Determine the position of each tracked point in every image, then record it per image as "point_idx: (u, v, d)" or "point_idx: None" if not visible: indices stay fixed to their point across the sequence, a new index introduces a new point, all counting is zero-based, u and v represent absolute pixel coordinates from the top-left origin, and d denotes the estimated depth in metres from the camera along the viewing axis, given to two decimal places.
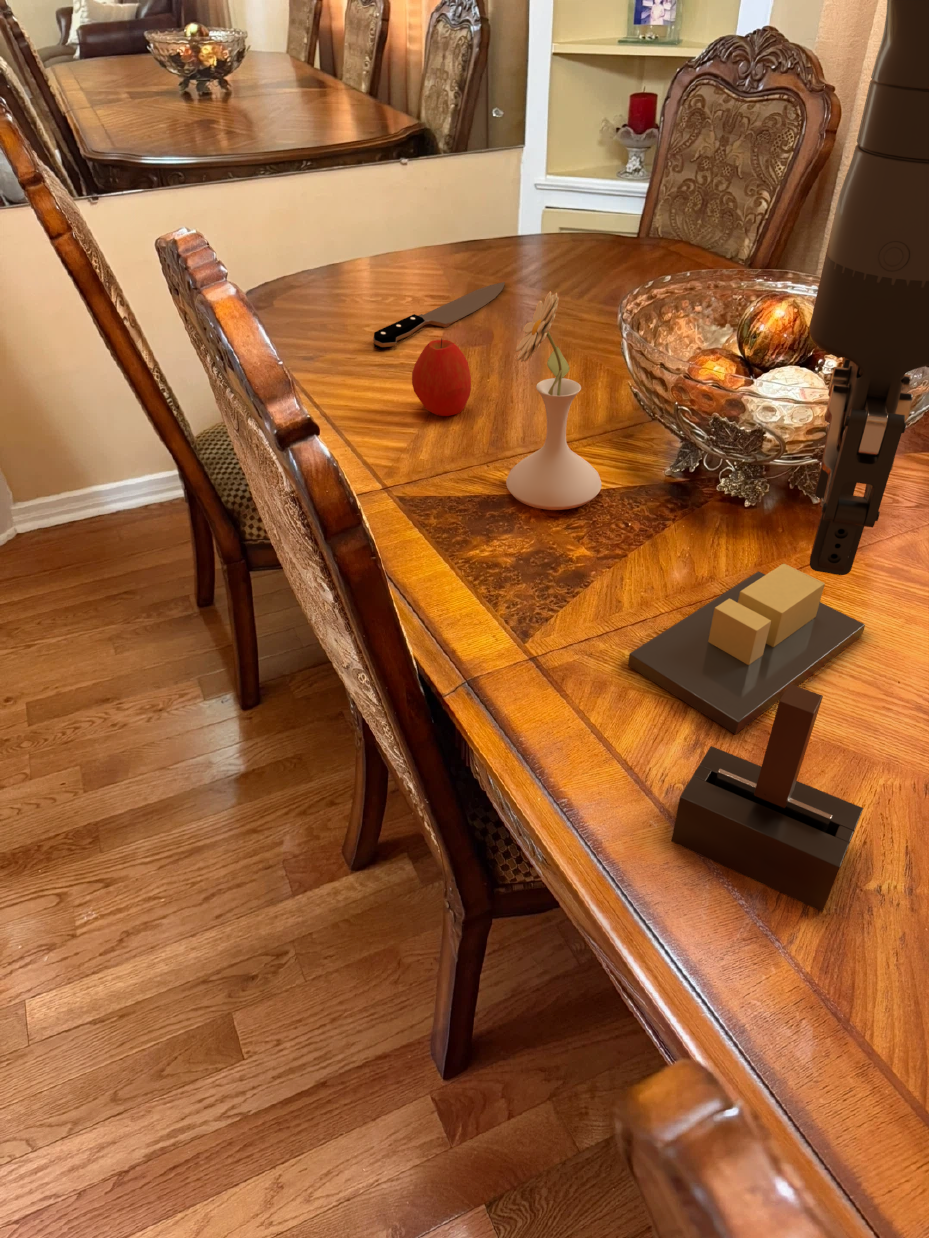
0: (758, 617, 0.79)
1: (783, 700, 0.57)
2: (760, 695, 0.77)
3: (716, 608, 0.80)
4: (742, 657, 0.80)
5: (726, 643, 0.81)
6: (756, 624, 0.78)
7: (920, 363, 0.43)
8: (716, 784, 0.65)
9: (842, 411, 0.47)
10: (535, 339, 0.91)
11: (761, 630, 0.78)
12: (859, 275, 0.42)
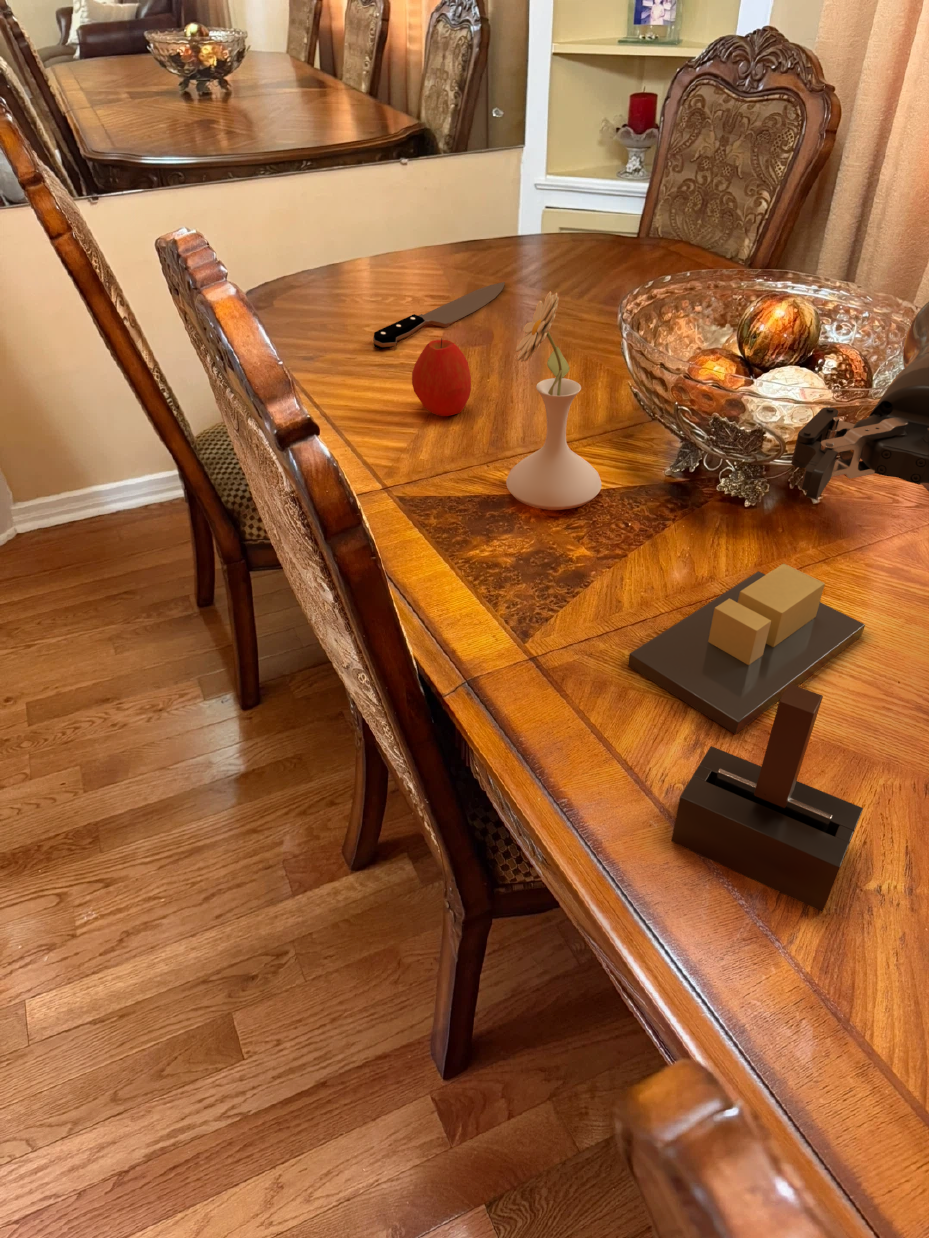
0: (758, 617, 0.79)
1: (783, 700, 0.57)
2: (760, 695, 0.77)
3: (716, 608, 0.80)
4: (742, 657, 0.80)
5: (726, 643, 0.81)
6: (756, 624, 0.78)
7: (877, 404, 0.67)
8: (716, 784, 0.65)
9: None
10: (535, 339, 0.91)
11: (761, 630, 0.78)
12: None
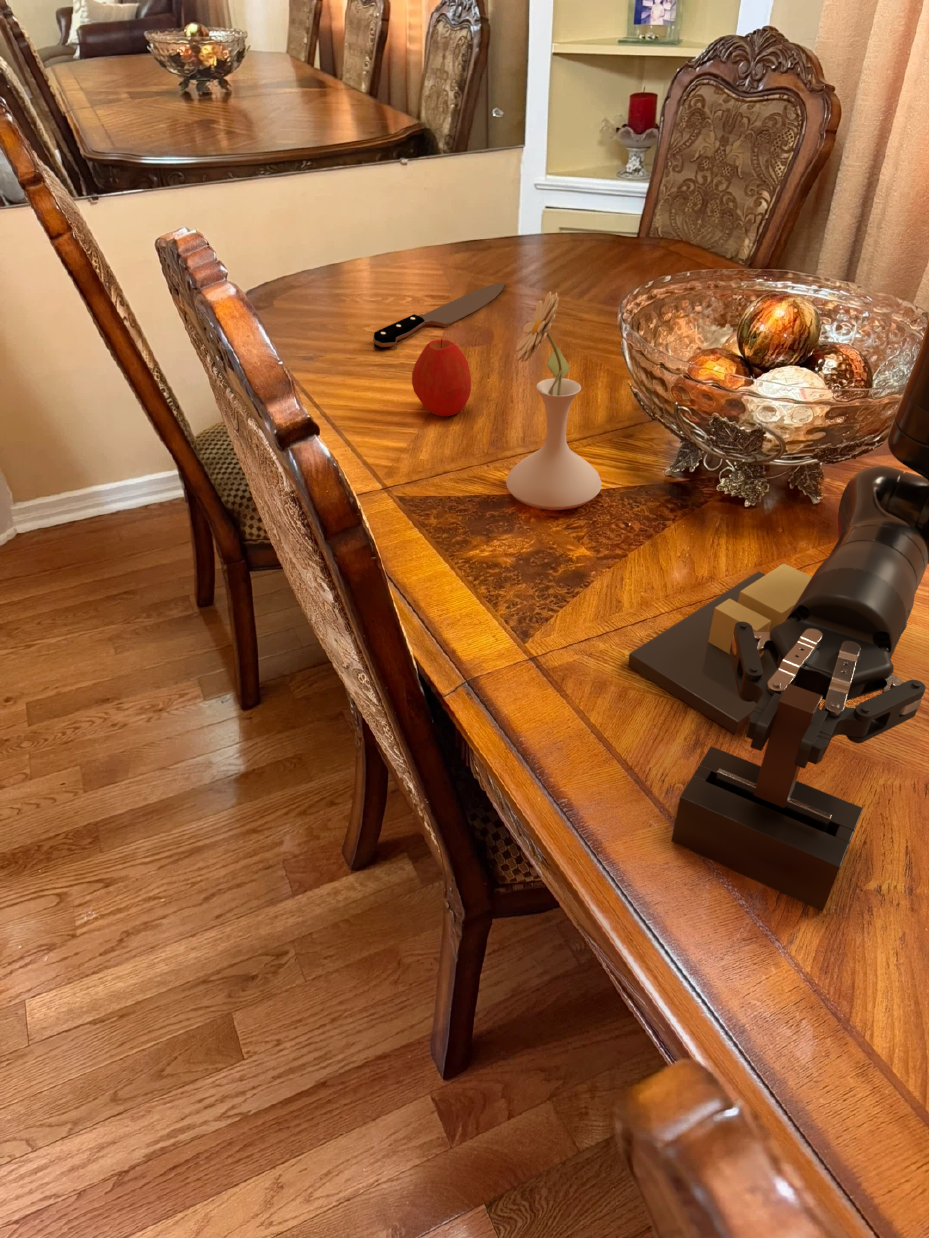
0: (758, 617, 0.79)
1: (782, 700, 0.57)
2: None
3: (716, 608, 0.80)
4: None
5: (726, 643, 0.81)
6: (756, 624, 0.78)
7: (795, 606, 0.65)
8: (716, 784, 0.65)
9: None
10: (535, 339, 0.91)
11: (761, 630, 0.78)
12: None
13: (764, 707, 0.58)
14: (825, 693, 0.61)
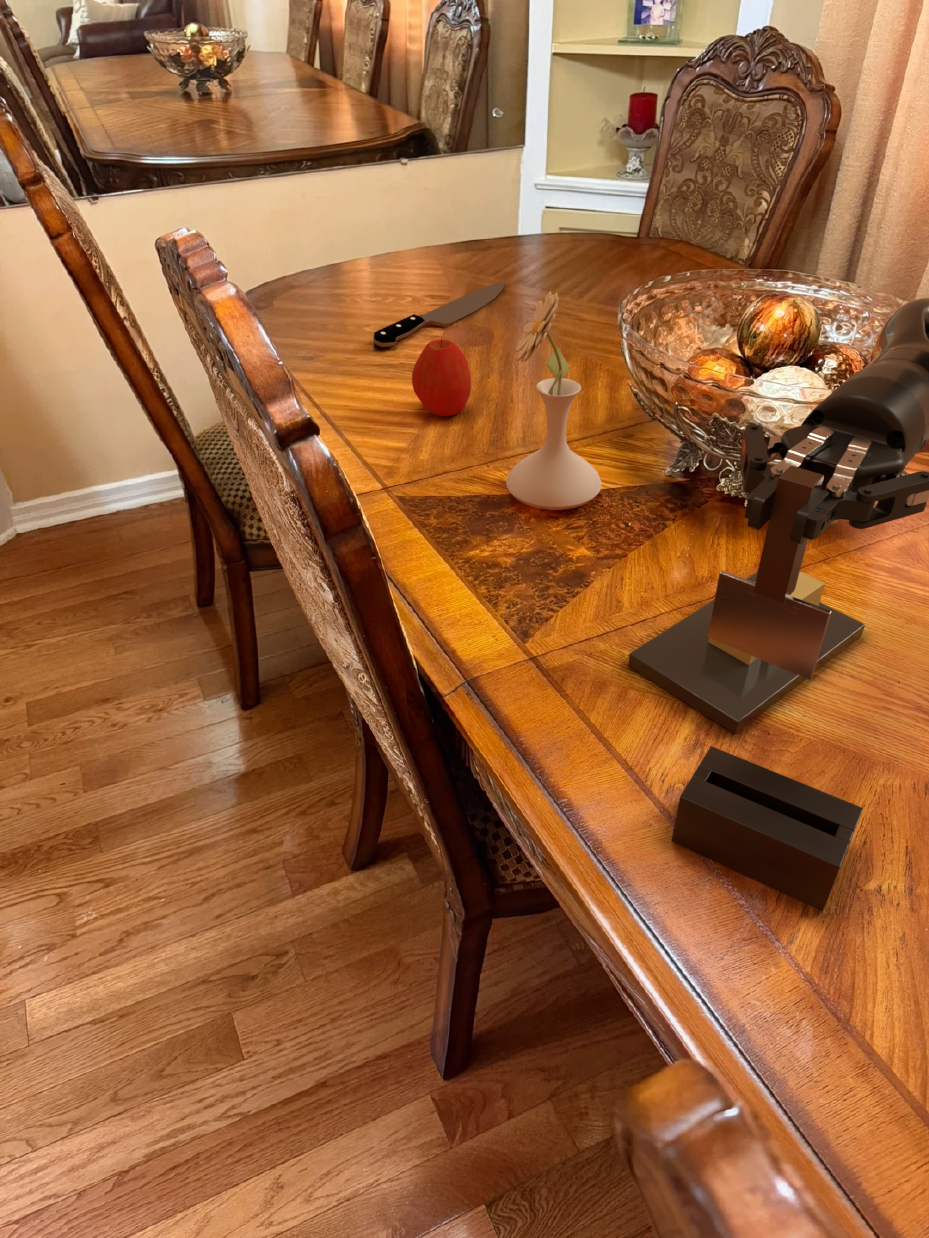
0: None
1: (782, 477, 0.56)
2: (760, 695, 0.77)
3: None
4: (742, 657, 0.80)
5: None
6: None
7: (810, 413, 0.64)
8: (718, 587, 0.64)
9: None
10: (535, 339, 0.91)
11: None
12: None
13: None
14: None
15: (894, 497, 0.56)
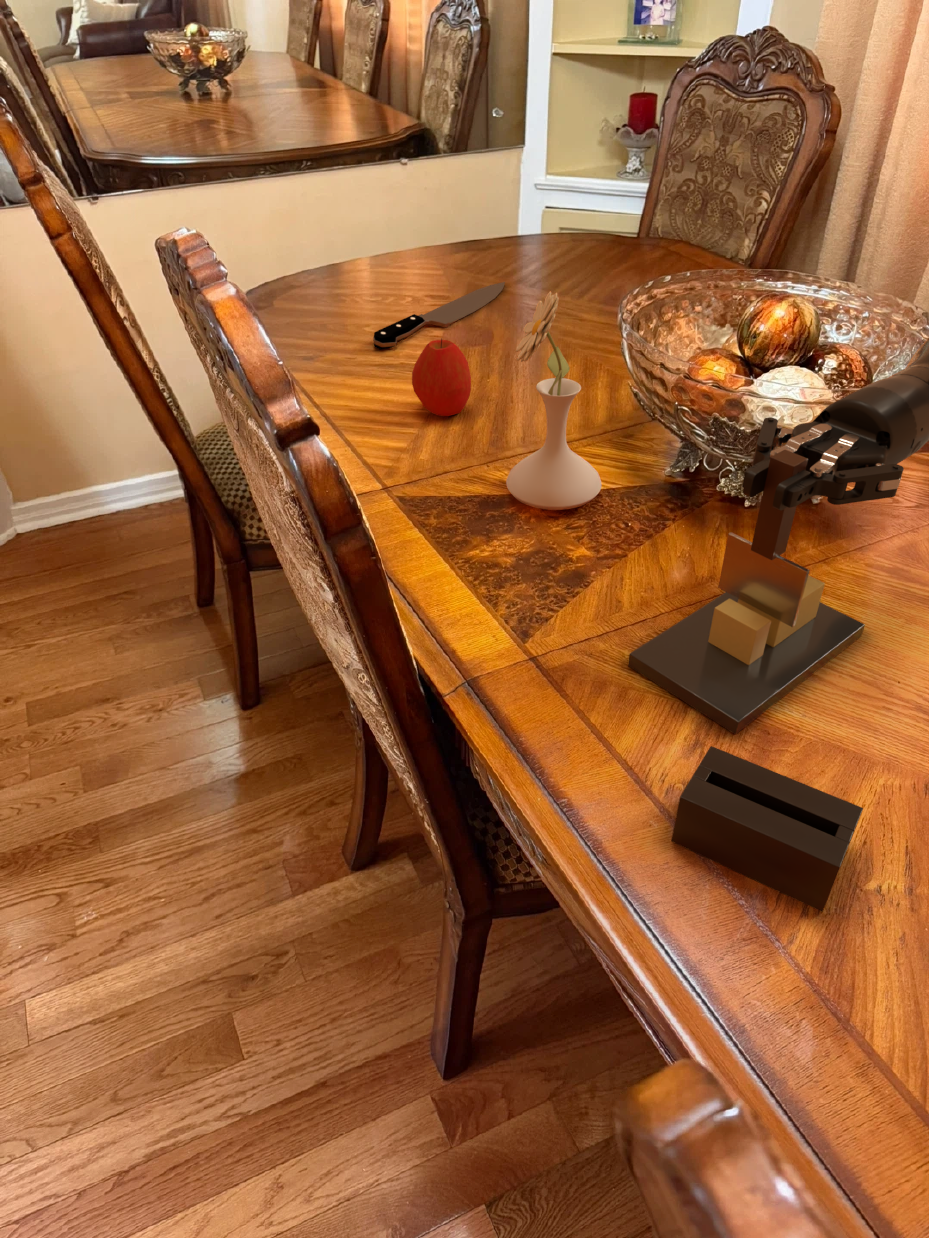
0: (758, 617, 0.79)
1: (773, 457, 0.72)
2: (760, 695, 0.77)
3: (716, 608, 0.80)
4: (742, 657, 0.80)
5: (726, 643, 0.81)
6: (756, 624, 0.78)
7: (821, 412, 0.79)
8: (726, 546, 0.80)
9: None
10: (535, 339, 0.91)
11: (761, 630, 0.78)
12: None
13: None
14: None
15: (865, 481, 0.71)
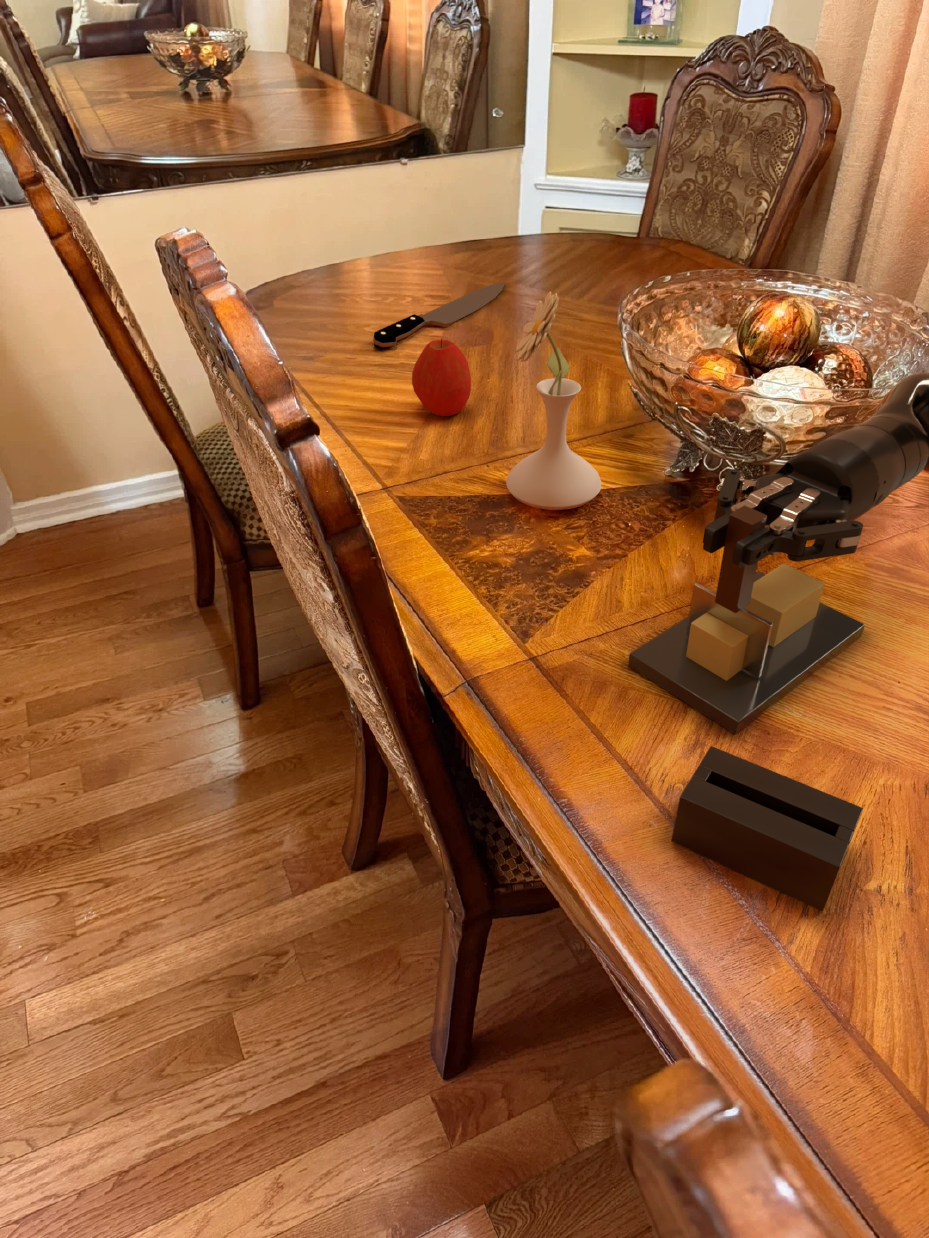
0: (735, 633, 0.77)
1: (732, 514, 0.71)
2: (760, 695, 0.77)
3: (692, 623, 0.78)
4: (720, 673, 0.78)
5: (704, 658, 0.79)
6: (733, 640, 0.76)
7: (784, 464, 0.79)
8: (692, 596, 0.80)
9: None
10: (535, 339, 0.91)
11: (738, 646, 0.76)
12: None
13: None
14: None
15: (824, 539, 0.71)
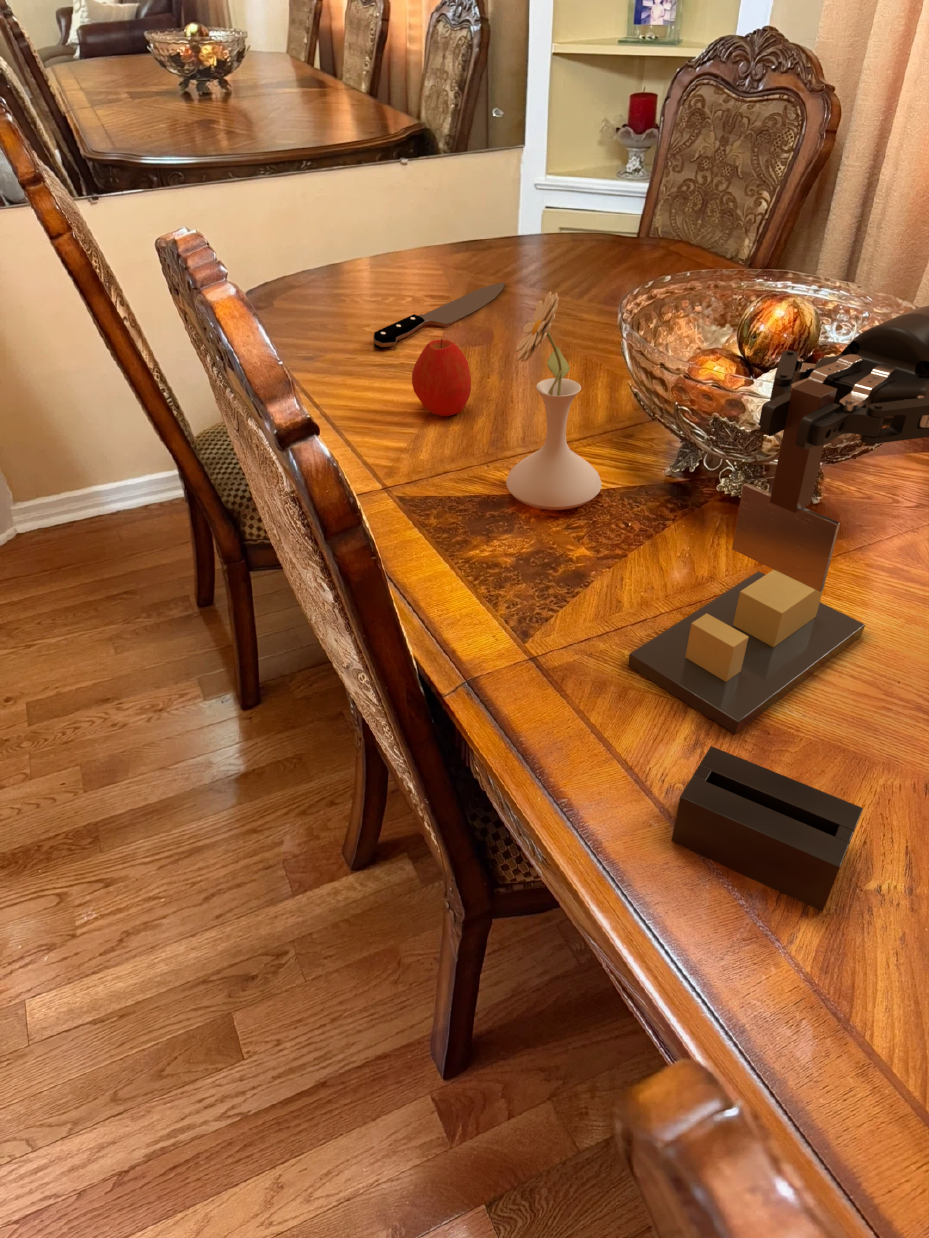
0: (736, 633, 0.77)
1: (795, 388, 0.60)
2: (760, 695, 0.77)
3: (693, 623, 0.78)
4: (719, 673, 0.78)
5: (703, 659, 0.79)
6: (733, 640, 0.76)
7: (848, 344, 0.68)
8: (741, 499, 0.69)
9: None
10: (535, 339, 0.91)
11: (738, 647, 0.76)
12: None
13: None
14: None
15: (905, 415, 0.60)
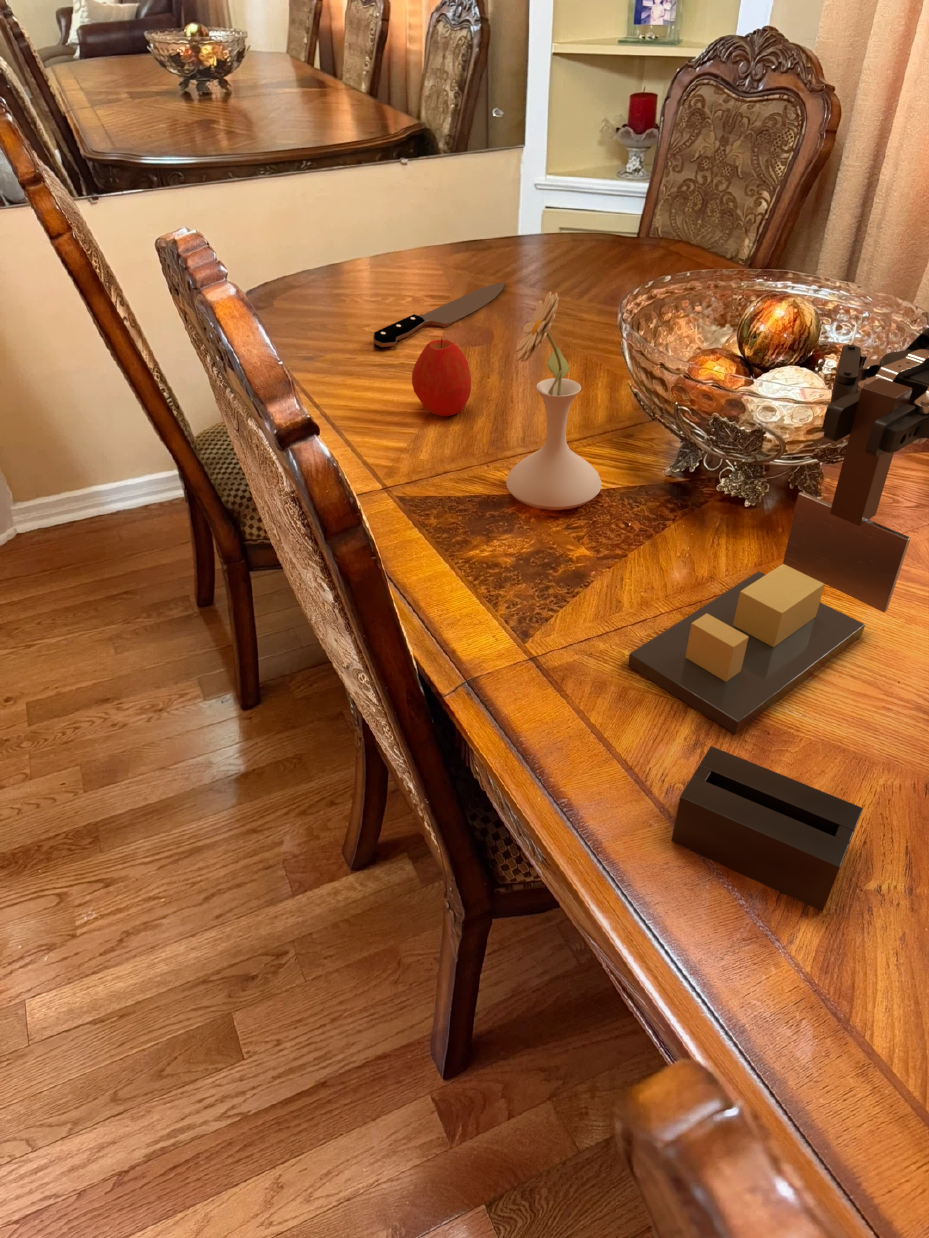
0: (736, 633, 0.77)
1: (866, 387, 0.54)
2: (760, 695, 0.77)
3: (693, 623, 0.78)
4: (719, 673, 0.78)
5: (703, 659, 0.79)
6: (733, 640, 0.76)
7: (916, 338, 0.61)
8: (796, 510, 0.62)
9: None
10: (535, 339, 0.91)
11: (738, 647, 0.76)
12: None
13: None
14: None
15: None
